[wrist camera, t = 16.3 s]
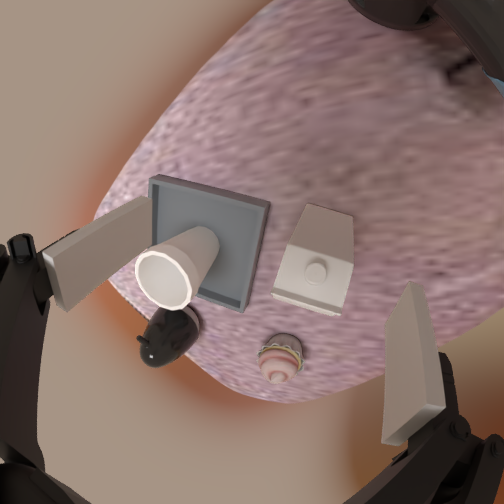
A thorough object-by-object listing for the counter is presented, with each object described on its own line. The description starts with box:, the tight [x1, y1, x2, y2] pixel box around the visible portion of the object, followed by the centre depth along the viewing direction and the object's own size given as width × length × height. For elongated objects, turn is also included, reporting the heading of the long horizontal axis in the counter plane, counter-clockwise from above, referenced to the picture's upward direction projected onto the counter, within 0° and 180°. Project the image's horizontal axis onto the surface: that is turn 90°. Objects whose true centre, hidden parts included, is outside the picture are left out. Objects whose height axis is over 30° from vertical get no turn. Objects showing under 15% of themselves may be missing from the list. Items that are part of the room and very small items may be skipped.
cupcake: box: [257, 334, 305, 384], centre depth 51 cm, size 9×9×10 cm
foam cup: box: [135, 226, 220, 310], centre depth 44 cm, size 10×9×13 cm
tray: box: [148, 174, 270, 313], centre depth 49 cm, size 20×20×3 cm
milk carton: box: [271, 203, 354, 316], centre depth 35 cm, size 7×7×19 cm
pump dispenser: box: [137, 306, 199, 368], centre depth 54 cm, size 10×10×15 cm
